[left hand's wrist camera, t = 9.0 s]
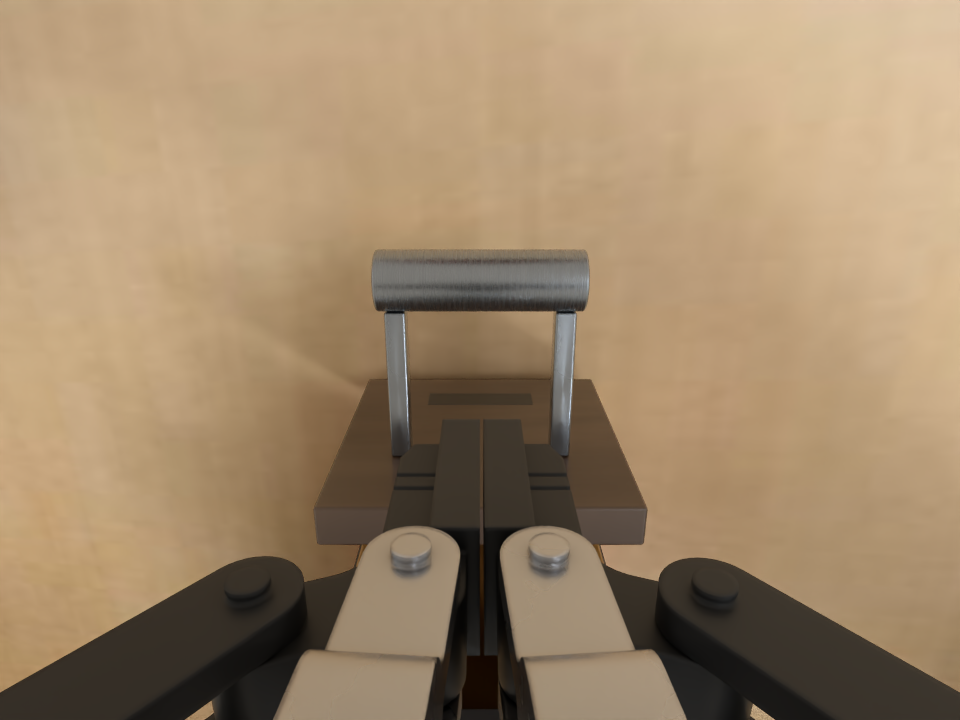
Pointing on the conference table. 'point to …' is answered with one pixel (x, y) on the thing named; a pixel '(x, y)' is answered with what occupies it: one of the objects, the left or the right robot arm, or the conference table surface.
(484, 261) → the drawer
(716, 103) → the conference table surface
